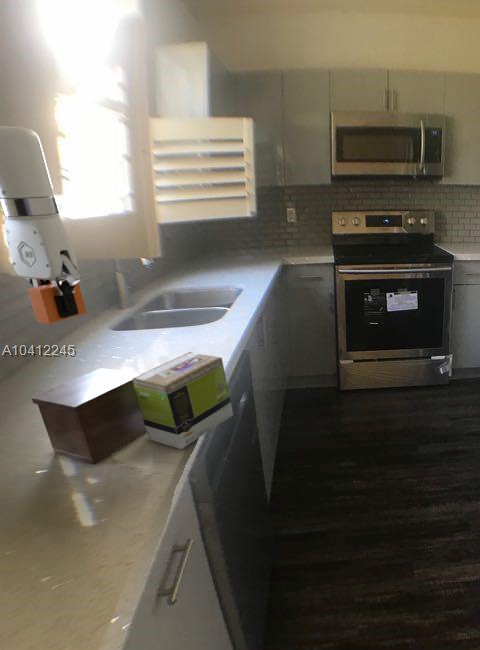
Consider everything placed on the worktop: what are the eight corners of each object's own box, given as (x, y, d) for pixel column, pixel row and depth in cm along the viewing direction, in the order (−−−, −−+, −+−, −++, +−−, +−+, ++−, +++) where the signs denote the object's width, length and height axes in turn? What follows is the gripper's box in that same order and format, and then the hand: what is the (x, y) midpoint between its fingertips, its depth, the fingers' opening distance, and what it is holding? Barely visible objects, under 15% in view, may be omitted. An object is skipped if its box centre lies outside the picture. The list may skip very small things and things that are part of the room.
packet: (37, 322, 80) (26, 288, 78) (74, 311, 87) (65, 280, 84) (50, 323, 79) (39, 290, 77) (86, 312, 86) (78, 281, 83)
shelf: (51, 454, 91) (31, 397, 87) (115, 419, 104) (101, 367, 99) (93, 466, 87) (74, 407, 83) (154, 427, 100) (141, 374, 95)
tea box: (202, 408, 108) (190, 349, 102) (234, 416, 104) (224, 356, 98) (146, 440, 95) (130, 375, 90) (180, 451, 91) (165, 384, 86)
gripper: (-26, 210, 76) (9, 317, 82) (42, 211, 70) (75, 325, 77) (21, 207, 82) (50, 306, 89) (87, 207, 77) (113, 313, 83)
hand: (61, 314), depth 83 cm, fingers closed on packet, 3 cm apart
